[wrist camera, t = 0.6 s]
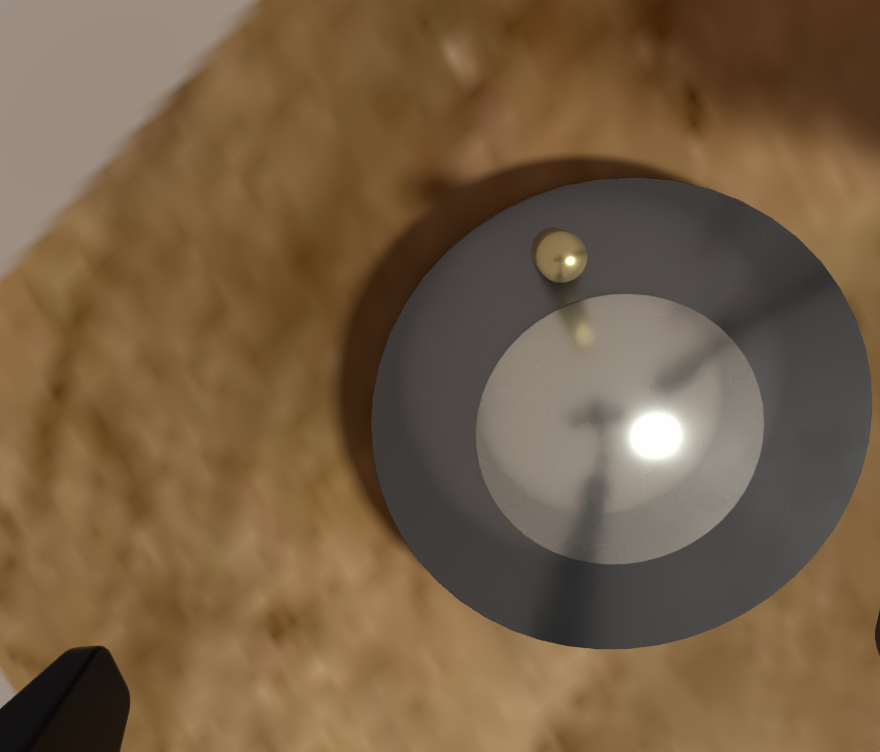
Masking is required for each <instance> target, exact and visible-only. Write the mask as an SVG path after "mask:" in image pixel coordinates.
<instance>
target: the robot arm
mask: <svg viewBox="0 0 880 752" xmlns="http://www.w3.org/2000/svg"><path fill="white" fill-rule="evenodd" d="M875 641H876V646H877V650H878V653H879V655H880V611H879V616H878V620H877V625H876V629H875ZM129 710H130V694H129V690H128V687H127V685H126V683H125V681H124V679H123V677H122V675H121V673H120V671H119V669H118V667H117V665H116V663H115V661H114V659H113V657H112V655H111V653H110V652H109V650H108V649H106V648H105V647H103V646H89V647H77V648H72V649H69V650H68V651H66V652H65V653H63V654H62V655H61V656H60V657H58V658H57V659H56V660H55V661H54V662H53V663H52V664H50V665H49V666H48V667H47V668H46V669H45V670H44V671H43V672H41V673H40V674H39V675H38V676H37V677H36V678H35V679H33V680H32V681H31V682H30V683H29V684H28V685H27V686H25V687H24V688H23V689H22V690H21V691H20V692H19V693H18V694H16V695H15V696H14V697H13V698H12V699H11V700H10V701H8V702H7V703H6V704H5V705H4V706H3V707H2V708H1V709H0V752H120V749H121V745H122V741H123V737H124V732H125V728H126V724H127V719H128V715H129Z"/></svg>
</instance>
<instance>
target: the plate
mask: <svg viewBox="0 0 880 752" xmlns="http://www.w3.org/2000/svg"><path fill="white" fill-rule="evenodd" d="M871 416H872V393H871V376H870V371H869V365H868V360H867V354H866V349H865V345H864V342H863V339H862V336H861V333H860V330H859V327H858V325H857V322H856V319H855V316H854V314H853V312H852V310H851V308H850V307H849V305H848V303H847V301H846V299H845V297H844V295H843V293H842V291H841V289H840V288H839V286H838V285H837V283H836V282H835V281H834V279H833V278H832V276H831V275H830V274H829V272H828V271H827V269H826V268H825V267H824V265H823V264H822V262H821V261H820V260H819V259H818V258H817V257H816V256H815V255H814V254H813V253H812V252H811V251H810V250H809V249H808V248H807V247H806V246H805V245H804V244H803V243H802V242H801V241H800V240H799V239H798V238H797V237H796V236H794V235H793V234H792V233H791V232H789V231H788V230H787V229H785V228H784V227H783V226H781V225H780V224H779V223H777V222H776V221H775V220H774V219H772V218H771V217H769V216H767V215H765V214H764V213H762V212H760V211H758V210H756V209H755V208H753V207H751V206H749V205H747V204H746V203H744V202H742V201H740V200H737V199H734V198H732V197H729V196H727V195H724V194H721V193H719V192H716V191H714V190H711V189H708V188H704V187H699V186H695V185H691V184H686V183H682V182H678V181H671V180H660V179H649V178H619V179H598V180H591V181H585V182H580V183H574V184H569V185H563V186H560V187H557V188H554V189H550V190H547V191H544V192H541V193H538V194H535V195H532V196H529V197H527V198H525V199H523V200H521V201H519V202H517V203H515V204H512V205H510V206H508V207H506V208H504V209H502V210H500V211H498V212H497V213H495V214H494V215H492V216H491V217H489V218H487V219H486V220H484V221H483V222H481V223H480V224H478V225H477V226H475V227H473V228H472V229H471V230H470V231H469V232H467V233H466V234H465V235H464V236H463V237H461V238H460V239H459V240H458V241H457V242H456V243H454V244H453V245H452V246H451V247H450V248H448V249H447V250H446V252H445V253H444V254H443V255H442V256H441V257H440V258H439V259H438V260H437V261H436V263H435V264H434V265H433V266H432V267H431V268H430V269H429V270H428V271H427V272H426V274H425V275H424V277H423V278H422V280H421V281H420V283H419V284H418V285H417V287H416V288H415V290H414V291H413V293H412V294H411V296H410V297H409V298H408V300H407V302H406V304H405V306H404V308H403V310H402V312H401V313H400V315H399V317H398V319H397V321H396V323H395V325H394V327H393V329H392V331H391V333H390V335H389V338H388V341H387V344H386V347H385V350H384V352H383V355H382V358H381V361H380V364H379V368H378V373H377V378H376V383H375V388H374V393H373V403H372V419H371V431H372V445H373V457H374V461H375V466H376V471H377V476H378V480H379V485H380V488H381V490H382V493H383V496H384V499H385V502H386V504H387V507H388V510H389V512H390V514H391V516H392V518H393V520H394V522H395V524H396V526H397V528H398V530H399V532H400V534H401V536H402V537H403V539H404V540H405V542H406V543H407V545H408V546H409V548H410V549H411V550H412V552H413V553H414V555H415V556H416V558H417V559H418V560H419V562H420V563H421V564H422V565H423V566H424V567H425V568H426V569H427V570H428V572H429V573H430V574H431V575H432V576H433V577H434V578H435V579H436V580H437V581H438V582H439V583H440V584H441V585H442V586H443V587H444V588H446V589H447V590H448V591H449V592H450V593H452V594H453V595H454V596H455V597H456V598H457V599H459V600H460V601H461V602H463V603H464V604H466V605H467V606H469V607H470V608H472V609H473V610H475V611H476V612H478V613H480V614H481V615H483V616H484V617H486V618H488V619H490V620H492V621H494V622H496V623H498V624H500V625H502V626H504V627H506V628H508V629H510V630H513V631H516V632H519V633H521V634H524V635H527V636H530V637H533V638H536V639H539V640H543V641H547V642H552V643H557V644H561V645H566V646H572V647H582V648H592V649H630V648H638V647H646V646H654V645H660V644H664V643H668V642H672V641H677V640H681V639H685V638H689V637H691V636H694V635H697V634H700V633H702V632H705V631H708V630H711V629H713V628H716V627H718V626H720V625H722V624H724V623H726V622H728V621H730V620H732V619H734V618H736V617H738V616H740V615H742V614H744V613H746V612H747V611H749V610H750V609H752V608H753V607H755V606H757V605H758V604H760V603H761V602H763V601H764V600H766V599H767V598H769V597H770V596H772V595H773V594H774V593H775V592H776V591H778V590H779V589H780V588H781V587H782V586H784V585H785V584H786V583H787V582H788V581H790V580H791V579H792V578H793V577H794V576H795V575H796V574H797V573H798V572H799V571H800V570H801V569H802V568H803V567H804V566H805V565H806V564H807V563H808V562H809V560H810V559H811V558H812V557H813V556H814V555H815V554H816V553H817V551H818V550H819V549H820V547H821V546H822V545H823V543H824V542H825V541H826V539H827V538H828V537H829V535H830V534H831V532H832V531H833V530H834V528H835V527H836V525H837V523H838V521H839V519H840V518H841V516H842V514H843V512H844V510H845V509H846V507H847V505H848V503H849V501H850V499H851V496H852V494H853V491H854V489H855V486H856V484H857V481H858V479H859V476H860V474H861V471H862V467H863V463H864V459H865V455H866V451H867V447H868V443H869V435H870V425H871Z"/></svg>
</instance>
